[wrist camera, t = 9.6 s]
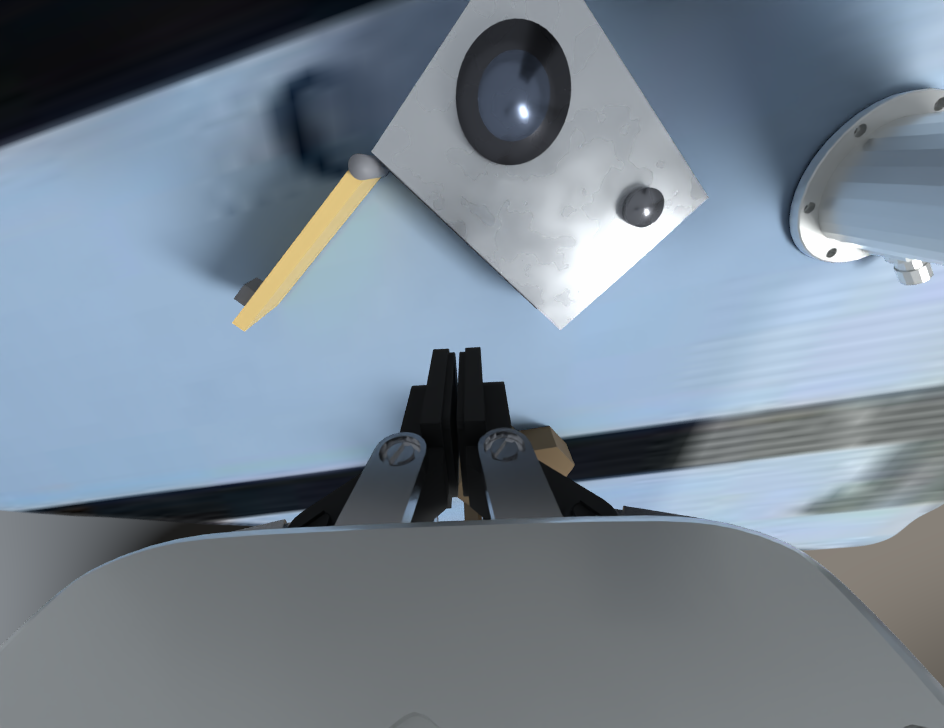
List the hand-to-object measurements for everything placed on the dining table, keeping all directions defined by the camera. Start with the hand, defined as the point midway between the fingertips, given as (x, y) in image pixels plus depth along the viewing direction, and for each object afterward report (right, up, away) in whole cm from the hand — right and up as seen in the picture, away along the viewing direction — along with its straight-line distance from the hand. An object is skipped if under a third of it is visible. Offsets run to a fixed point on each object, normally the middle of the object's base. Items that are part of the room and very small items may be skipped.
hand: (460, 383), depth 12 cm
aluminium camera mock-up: (+5, +16, +15) cm, 22 cm away
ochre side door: (-12, +12, +16) cm, 24 cm away
